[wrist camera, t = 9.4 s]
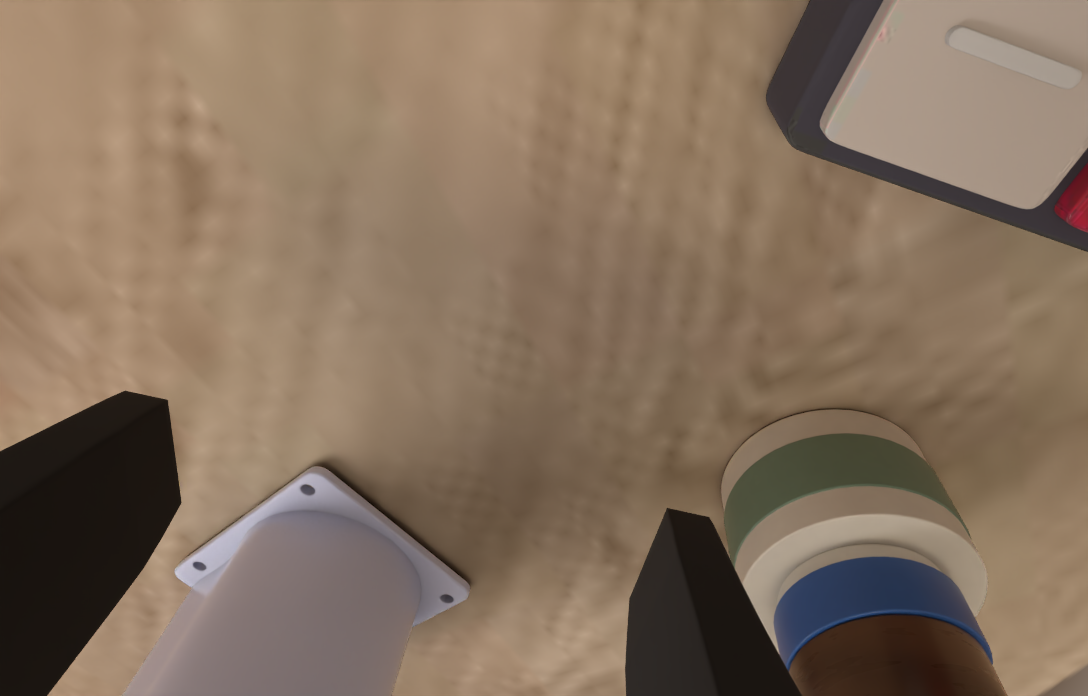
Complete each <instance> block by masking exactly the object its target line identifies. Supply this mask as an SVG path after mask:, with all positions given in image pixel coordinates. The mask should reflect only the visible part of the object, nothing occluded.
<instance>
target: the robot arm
mask: <svg viewBox="0 0 1088 696" xmlns="http://www.w3.org/2000/svg"><path fill="white" fill-rule="evenodd" d="M308 485H310V486H312V487H310V486H308ZM180 505H181V496H180V488H179V481H178V473H177V466H176V458H175V451H174V443H173V436H172V429H171V421H170V414H169V406H168V400H165V399H161V398H156V397H152V396H147V395H142V394H138V393H133V392H128V391H123V392H121V393H119V394H117V395H114V396H112V397H110V398H108V399H106V400H104V401H101V402H99V403H97V404H95V405H93V406H91V407H89V408H87V409H85V410H83V411H81V412H79V413H77V414H75V415H73V416H71V417H69V418H67V419H65V420H63V421H61V422H59V423H57V424H55V425H53V426H51V427H49V428H47V429H45V430H43V431H41V432H39V433H37V434H35V435H33V436H31V437H29V438H27V439H25V440H23V441H21V442H18V443H16V444H14V445H12V446H10V447H8V448H6V449H4V450H2V451H0V696H47V695H48V694H49V692H50V691H51V690H52V689H53V687H54V686H55V685H56V683H57V682H58V681H59V679H60V678H61V677H62V675H63V674H64V673H65V671H66V670H67V669H68V668H69V666H70V665H71V664H72V662H73V661H74V660H75V658H76V657H77V656H78V654H79V653H80V652H81V651H82V649H83V648H84V647H85V645H86V644H87V643H88V641H89V640H90V639H91V637H92V636H93V635H94V634H95V632H96V631H97V630H98V628H99V627H100V626H101V624H102V623H103V622H104V620H105V619H106V618H107V616H108V615H109V614H110V612H111V611H112V610H113V608H114V607H115V606H116V604H117V603H118V602H119V600H120V599H121V598H122V596H123V595H124V594H125V592H126V591H127V590H128V588H129V587H130V586H131V585H132V583H133V582H134V580H135V579H136V578H137V576H138V575H139V574H140V572H141V571H142V570H143V568H144V567H145V565H146V563H147V562H148V560H149V558H150V557H151V555H152V553H153V552H154V550H155V548H156V547H157V545H158V543H159V542H160V540H161V538H162V537H163V535H164V533H165V531H166V530H167V528H168V526H169V524H170V522H171V521H172V519H173V517H174V515H175V513H176V512H177V510H178V508H179V506H180ZM175 575H176V576H177V578H178V579H180V580H181V581H182V582H184V583H185V584H187V585H188V586H190V587H191V588H192V589H191V590H190V592H189V593H188V595H187V596H186V598H185V599H184V601H183V602H182V604H181V606H180V607H179V609H178V610H177V612H176V613H175V615H174V616H173V618H172V619H171V621H170V622H169V624H168V625H167V627H166V629H165V630H164V632H163V633H162V635H161V636H160V638H159V639H158V641H157V642H156V644H155V645H154V647H153V648H152V650H151V652H150V653H149V655H148V656H147V658H146V659H145V661H144V662H143V664H142V665H141V667H140V668H139V670H138V671H137V673H136V675H135V676H134V678H133V679H132V681H131V682H130V684H129V685H128V687H127V688H126V690H125V691H124V693H123V694H122V696H392V692H393V689H394V686H395V682H396V679H397V676H398V672H399V669H400V666H401V662H402V659H403V656H404V653H405V649H406V646H407V643H408V639H409V636H410V633H411V629H412V627H414V626H416V625H418V624H420V623H422V622H424V621H426V620H428V619H430V618H431V617H433V616H435V615H437V614H439V613H441V612H443V611H445V610H447V609H449V608H451V607H453V606H455V605H457V604H459V603H461V602H462V601H464V600H466V599H467V598H468V596H469V592H470V585H469V584H468V583H467V582H466V581H465V580H464V579H463V578H461V577H460V576H459V575H458V574H456V573H455V572H454V571H453V570H452V569H450V568H449V567H448V566H447V565H445V564H444V563H443V562H442V561H440V560H439V559H438V558H437V557H435V556H434V555H433V554H432V553H430V552H429V551H428V550H427V549H426V548H424V547H423V546H422V545H421V544H419V543H418V542H417V541H416V540H414V539H413V538H412V537H411V536H409V535H408V534H407V533H406V532H404V531H403V530H402V529H401V528H399V527H398V526H397V525H396V524H395V523H393V522H392V521H391V520H390V519H388V518H387V517H386V516H385V515H383V514H382V513H381V512H380V511H378V510H377V509H376V508H375V507H373V506H372V505H371V504H370V503H369V502H367V501H366V500H365V499H364V498H362V497H361V496H360V495H359V494H357V493H356V492H355V491H354V490H352V489H351V488H350V487H349V486H347V485H346V484H345V483H344V482H343V481H341V480H340V479H339V478H338V477H336V476H335V475H334V474H333V473H331V472H330V471H329V470H327V469H326V468H323V467H320V466H314V467H311V468H309V469H308V470H306V471H305V472H304V473H302V474H301V475H299V476H298V477H297V478H295V479H294V480H293V481H291V482H290V483H288V484H287V485H286V486H284V487H283V488H281V489H280V490H279V491H277V492H276V493H275V494H273V495H272V496H270V497H269V498H268V499H266V500H265V501H264V502H262V503H261V504H259V505H258V506H257V507H255V508H254V509H253V510H251V511H250V512H248V513H247V514H246V515H244V516H243V517H242V518H240V519H239V520H237V521H236V522H235V523H233V524H232V525H231V526H229V527H228V528H226V529H225V530H224V531H222V532H221V533H220V534H218V535H217V536H215V537H214V538H213V539H211V540H210V541H209V542H207V543H206V544H204V545H203V546H202V547H200V548H199V549H198V550H196V551H195V552H193V553H192V554H191V555H189V556H188V557H186V558H185V559H184V560H182V561H181V562H180V563H179V565H178V566H177V568H176V569H175ZM625 674H626V696H802V694H801V692H800V691H799V689H798V687H797V686H796V684H795V682H794V680H793V679H792V677H791V675H790V673H789V671H788V670H787V668H786V666H785V664H784V662H783V660H782V659H781V657H780V655H779V653H778V651H777V649H776V648H775V646H774V644H773V642H772V640H771V639H770V637H769V635H768V633H767V631H766V629H765V627H764V626H763V624H762V622H761V620H760V618H759V616H758V614H757V612H756V610H755V608H754V606H753V604H752V602H751V600H750V598H749V596H748V594H747V592H746V590H745V588H744V586H743V584H742V582H741V580H740V578H739V576H738V574H737V572H736V570H735V568H734V566H733V564H732V562H731V560H730V558H729V556H728V554H727V552H726V550H725V548H724V545H723V543H722V541H721V539H720V537H719V535H718V533H717V531H716V529H715V527H714V525H713V523H712V521H711V520H710V518H709V517H706V516H701V515H697V514H692V513H688V512H683V511H678V510H674V509H669V508H667V510H666V512H665V514H664V517H663V519H662V522H661V524H660V527H659V529H658V531H657V534H656V536H655V539H654V541H653V543H652V546H651V548H650V551H649V553H648V555H647V558H646V560H645V563H644V565H643V568H642V570H641V572H640V575H639V577H638V580H637V582H636V584H635V587H634V589H633V592H632V594H631V596H630V601H629V615H628V629H627V646H626V665H625Z"/></svg>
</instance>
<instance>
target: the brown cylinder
mask: <svg viewBox="0 0 1088 696" xmlns="http://www.w3.org/2000/svg"><path fill="white" fill-rule="evenodd" d="M789 673H790V675H791V677H792V679H793V680H794V682H795V684H796V686H797V687H798V689H799V691H800V692H801V694H802V696H1007V694H1006V692H1005V690H1004V688H1003V686H1002V684H1001V682H1000V680H999V678H998V676H997V674H996V672H995V670H994V668H993V666H992V664H991V662H990V660H989V658H988V655H987V653H986V652H985V650H984V649H983V647H982V646H981V644H980V643H979V642H978V641H977V640H976V639H975V638H974V637H973V636H971V635H970V634H968V633H967V632H966V631H964V630H962V629H961V628H959V627H957V626H955V625H952V624H950V623H947V622H945V621H941V620H938V619H934V618H929V617H924V616H917V615H902V614H891V615H878V616H871V617H865V618H860V619H856V620H852V621H848V622H845V623H842V624H839V625H837V626H834V627H832V628H830V629H827V630H826V631H824V632H822V633H820V634H818V635H817V636H815V637H814V638H812V639H811V640H810V641H808V642H807V643H806V644H805V645H804V646H803V647H802V648H801V649H800V650H799V651H798V653H797V654H796V655H795V657H794V659H793V661H792V663H791V666H790V669H789Z"/></svg>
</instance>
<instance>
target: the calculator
mask: <svg viewBox="0 0 1088 696" xmlns="http://www.w3.org/2000/svg"><path fill="white" fill-rule="evenodd" d="M766 101H767V105H768V107H769V109H770V111H771V113H772V114H773V116H774V118H775V120H776V122H777V123H778V125H779V127H780V129H781V130H782V132H783V134H784V136H785V137H786V139H787V140H788V142H789V143H790V144H791V146H792V147H794V148H795V149H797V150H799V151H802V152H804V153H807V154H810V155H812V156H815V157H818V158H821V159H824V160H827V161H830V162H832V163H835V164H838V165H841V166H844V167H847V168H850V169H852V170H855V171H858V172H861V173H864V174H867V175H870V176H872V177H875V178H878V179H881V180H884V181H887V182H890V183H892V184H895V185H898V186H901V187H904V188H907V189H910V190H912V191H915V192H918V193H921V194H924V195H927V196H930V197H932V198H935V199H938V200H941V201H944V202H947V203H950V204H952V205H955V206H958V207H961V208H964V209H967V210H970V211H972V212H975V213H978V214H981V215H984V216H987V217H990V218H992V219H995V220H998V221H1001V222H1004V223H1007V224H1010V225H1012V226H1015V227H1018V228H1021V229H1024V230H1027V231H1030V232H1032V233H1035V234H1038V235H1041V236H1044V237H1047V238H1050V239H1052V240H1055V241H1058V242H1061V243H1064V244H1067V245H1070V246H1072V247H1075V248H1078V249H1081V250H1084V251H1087V252H1088V0H810V2H809V4H808V6H807V8H806V10H805V12H804V15H803V17H802V19H801V21H800V23H799V25H798V27H797V29H796V31H795V33H794V35H793V37H792V39H791V41H790V43H789V46H788V48H787V50H786V52H785V54H784V56H783V58H782V60H781V62H780V64H779V66H778V68H777V70H776V72H775V75H774V77H773V79H772V81H771V83H770V85H769V88H768V90H767V95H766Z"/></svg>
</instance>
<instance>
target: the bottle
mask: <svg viewBox="0 0 1088 696" xmlns="http://www.w3.org/2000/svg"><path fill="white" fill-rule="evenodd" d="M721 497H722V503H723V509H724V524H725V530H726V536H727V542H728V548H729V554H730V560H731V562H732V564H733V566H734V568H735V570H736V572H737V574H738V576H739V578H740V580H741V582H742V584H743V586H744V588H745V590H746V592H747V594H748V596H749V598H750V600H751V602H752V604H753V606H754V608H755V610H756V612H757V614H758V616H759V618H760V620H761V622H762V624H763V626H764V627H765V629H766V631H767V633H768V635H769V637H770V639H771V640H772V642H773V644H774V646H775V648H776V649H777V651H778V653H779V654H780V657H781V659H782V660H783V662H784V664H785V666H786V668H787V670H788V671H789V669H790V666H791V663H792V661H793V659H794V657H795V655H796V654H797V653H798V651H799V650H800V649H801V648H802V647H803V646H804V645H805V644H806V643H807V642H808V641H810V640H811V639H812V638H814V637H815V636H817V635H818V634H820V633H822V632H824V631H826V630H827V629H830V628H832V627H834V626H837V625H839V624H842V623H845V622H848V621H852V620H856V619H860V618H865V617H871V616H878V615H891V614H902V615H917V616H924V617H929V618H934V619H938V620H941V621H945V622H947V623H950V624H952V625H955V626H957V627H959V628H961V629H962V630H964V631H966V632H967V633H968V634H970V635H971V636H973V637H974V638H975V639H976V640H977V641H978V642H979V643H980V644H981V646H982V647H983V649H984V650H985V652H986V653H987V655H988V658H989V660H990V662H991V664H992V665H993V659H992V653H991V650H990V647H989V645H988V643H987V641H986V639H985V637H984V635H983V633H982V631H981V629H980V627H979V625H978V623H977V621H976V619H975V617H976V616H977V615H978V613H979V611H980V609H981V608H982V606H983V604H984V601H985V598H986V595H987V588H988V577H987V570H986V567H985V565H984V562H983V560H982V558H981V556H980V554H979V553H978V551H977V549H976V547H975V546H974V544H973V542H972V540H971V537H970V534H969V531H968V529H967V527H966V526H965V524H964V522H963V520H962V519H961V517H960V515H959V513H958V512H957V510H956V508H955V506H954V505H953V503H952V501H951V499H950V498H949V496H948V494H947V492H946V491H945V489H944V487H943V485H942V484H941V482H940V480H939V478H938V477H937V475H936V473H935V472H934V470H933V469H932V468H931V466H930V465H929V464H928V463H927V461H926V459H925V457H924V456H923V454H922V452H921V450H920V449H919V447H918V445H917V444H916V442H915V441H914V440H913V439H912V438H911V437H910V436H909V435H908V434H907V433H906V432H905V431H903V430H902V429H901V428H900V427H898V426H896V425H895V424H893V423H891V422H889V421H887V420H885V419H883V418H880V417H878V416H875V415H871V414H868V413H864V412H859V411H853V410H840V409H832V410H818V411H810V412H805V413H801V414H797V415H793V416H790V417H787V418H784V419H782V420H779V421H777V422H775V423H773V424H771V425H769V426H767V427H765V428H764V429H762V430H760V431H758V432H757V433H756V434H754V435H753V436H752V437H750V438H749V439H748V440H747V441H746V442H745V443H744V444H743V445H742V446H741V447H740V448H739V449H738V450H737V451H736V453H735V454H734V455H733V456H732V458H731V460H730V461H729V463H728V465H727V467H726V470H725V472H724V475H723V479H722V484H721Z"/></svg>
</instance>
